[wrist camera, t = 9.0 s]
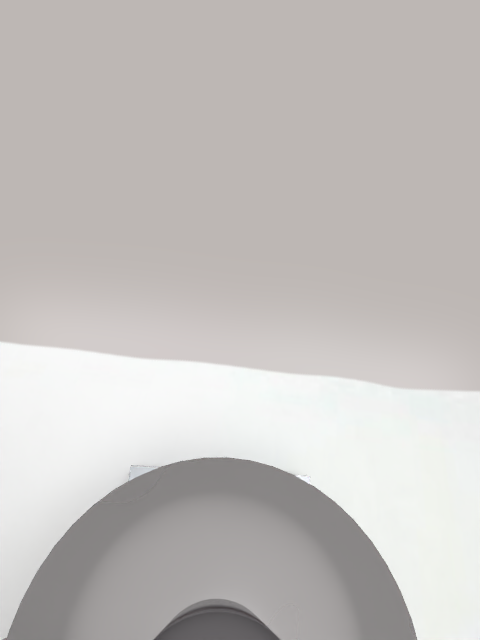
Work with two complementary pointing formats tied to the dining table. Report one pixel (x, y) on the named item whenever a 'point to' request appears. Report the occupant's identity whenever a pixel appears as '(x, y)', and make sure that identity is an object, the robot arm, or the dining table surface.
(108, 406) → the dining table surface
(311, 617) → the spout can
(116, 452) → the dining table surface
